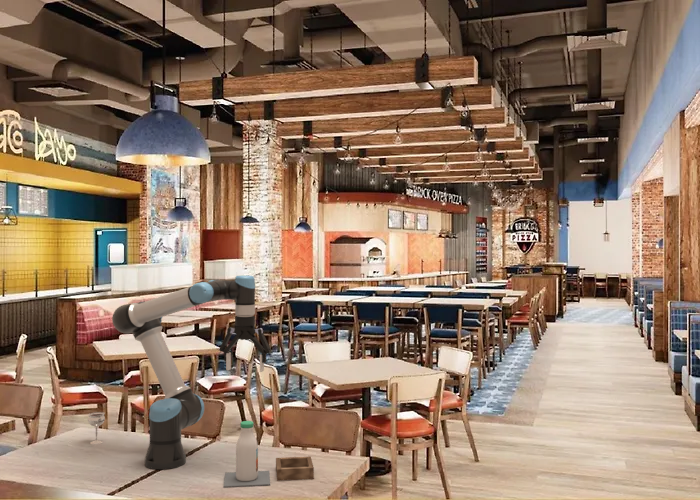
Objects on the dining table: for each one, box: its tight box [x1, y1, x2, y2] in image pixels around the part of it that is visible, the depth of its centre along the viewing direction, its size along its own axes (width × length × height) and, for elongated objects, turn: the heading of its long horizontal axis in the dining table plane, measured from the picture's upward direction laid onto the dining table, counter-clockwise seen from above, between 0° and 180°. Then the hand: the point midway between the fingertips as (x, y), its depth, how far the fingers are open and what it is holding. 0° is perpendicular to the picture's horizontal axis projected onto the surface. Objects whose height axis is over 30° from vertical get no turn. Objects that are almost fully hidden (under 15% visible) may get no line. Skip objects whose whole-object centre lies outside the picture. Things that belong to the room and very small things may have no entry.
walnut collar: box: [275, 455, 315, 481], centre depth 251 cm, size 13×13×4 cm
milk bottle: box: [235, 420, 259, 481], centre depth 245 cm, size 8×8×20 cm
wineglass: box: [87, 411, 106, 445], centre depth 289 cm, size 7×7×12 cm
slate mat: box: [223, 470, 271, 489], centre depth 245 cm, size 16×14×1 cm
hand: (245, 370), depth 266 cm, fingers open, 13 cm apart
